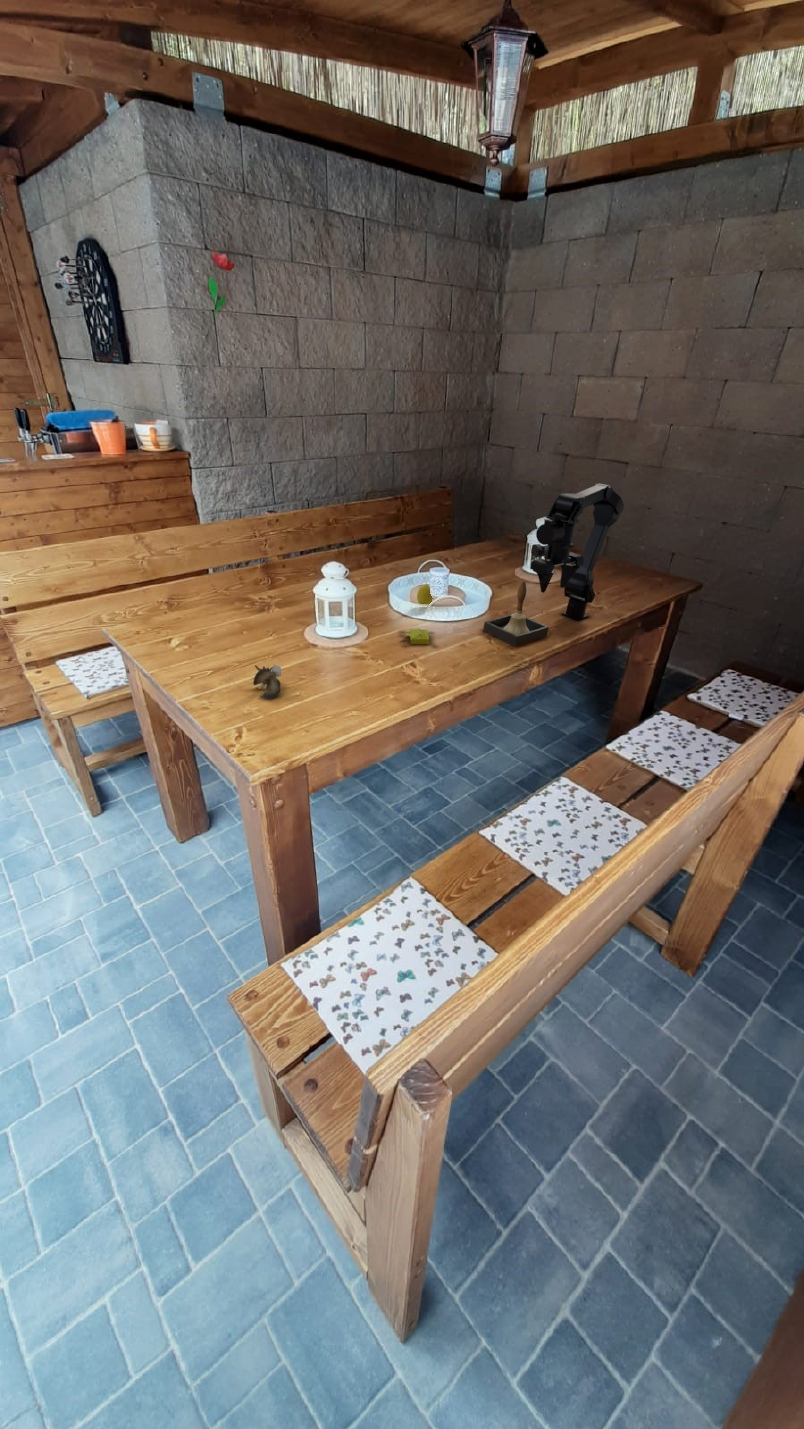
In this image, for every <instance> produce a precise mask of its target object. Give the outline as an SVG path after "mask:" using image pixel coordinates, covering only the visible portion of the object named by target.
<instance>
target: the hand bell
mask: <svg viewBox="0 0 804 1429" xmlns="http://www.w3.org/2000/svg"><path fill="white" fill-rule="evenodd" d="M526 596H527V583H526V581H521V582H520V584H519V587H518V589H517V606H516V612H513V613H511V614H512V615H511V619H510V621H509V623H508V625H507V626H505V627H504V628H503V629H504V630H506V631H508V632H510V633H513V634H515V635H520V634H523V633H526V632H530V631H529V629H528V628H527V626H526V617H527V616H526V614H524V613H523V607H524V606H523V605H524V601H525V599H526Z"/></svg>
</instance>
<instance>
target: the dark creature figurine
mask: <svg viewBox="0 0 804 1429" xmlns="http://www.w3.org/2000/svg"><path fill="white" fill-rule="evenodd" d="M254 668H255V669H256V670H257V672H256V673H255V675H254V677H253V681H252V684H253V685H254V686H257V685H259V686H258V690H261V689H263V688H264V687H265V690H264V692H263V693H262V696H261V697H262V698H263V699H266V700H271V699H274V698H276V697H279V695H280V694H281V685H282V684H281V681H280V679H278V677H279V678H280V677H282V673H283V672H282V671H283V670H282V667H281V666H279V665H278V664H273V665H272V666H271V667H270V668H269V666H268V667H267V668H266V666H264V665H263V667H262V668H259V666H258V665H254Z"/></svg>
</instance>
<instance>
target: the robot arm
mask: <svg viewBox="0 0 804 1429" xmlns="http://www.w3.org/2000/svg"><path fill="white" fill-rule="evenodd" d="M590 506H593V511H592V516H593V522H594V523H593V526H592V529H591V531H590V534H589V536H588V539H587V542H586V544H585V547H584V549H583V552H582V555H581V554H578V553H575V552H572V551H571V549H573V548H574V547H575V543H572V542H573V537H574V532H575V527H576V524H578V523H579V522H580V520H579V519H578V518H579V516H581V515H582V514H583V513H584V509H586V508H588V507H590ZM624 509H625V504H624V501H623V499H622V497H621V496H620V495H619V494H618V493H617V492H615V491H614V488H613V487H612V486H611V485H610V484H603V483H595V484H594V485H593V486H591V487H589V488H586V489H583V490H581V491H578V492H577V493H567V492H566V493H561V494H559V495H558V496H557V497H556V498H555V501H554V502H553V504H552V506H551V508H550V510H549V511H548V513H547V515H546V517H545V518H546V519H544V523H543V524H540V525H539V527H537V530H536V532H535V536H536V540H537V542H538V543H536V544H532V546H531V550H530V553H531V555H532V556H534V559H532V561H531V562H530V566H529V569H530V570H532V571H533V572H534V573H536V575H537V578H538V582H539V588H540V592H541V593H542V594H544V593H545V592H546V591H547V589H548V586H549V584H550V582H551V581H552V578H553V575H554V572H553V571H554V570H555V567H558V566H560V569H561V574H560V581H559V587H560V588H562V589H564V590H563V591H564V597H567V598H568V603H567V605H566V610H565V611H563V612H561V615H562V616H565V617H568V618H570V619H572V620H574V621H579V620H582V619H586V618H589V614H586V610H587V606H588V604H592V603H593V601H594V600H595V597H596V593H595V590H594V588H593V585H594V582H595V580H594V575H593V571H594V568H595V566H596V563H597V561H598V558H599V555H600V553H601V549H602V547H603V545H604V542H605V541H606V537H607V534H608V532H609V529H610V528H611V527H612V526H613V525H614V524H615V523H616V522H618V521H619V518H620V516H621V515H622V513H623V511H624ZM542 557H543V558H542Z"/></svg>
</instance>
